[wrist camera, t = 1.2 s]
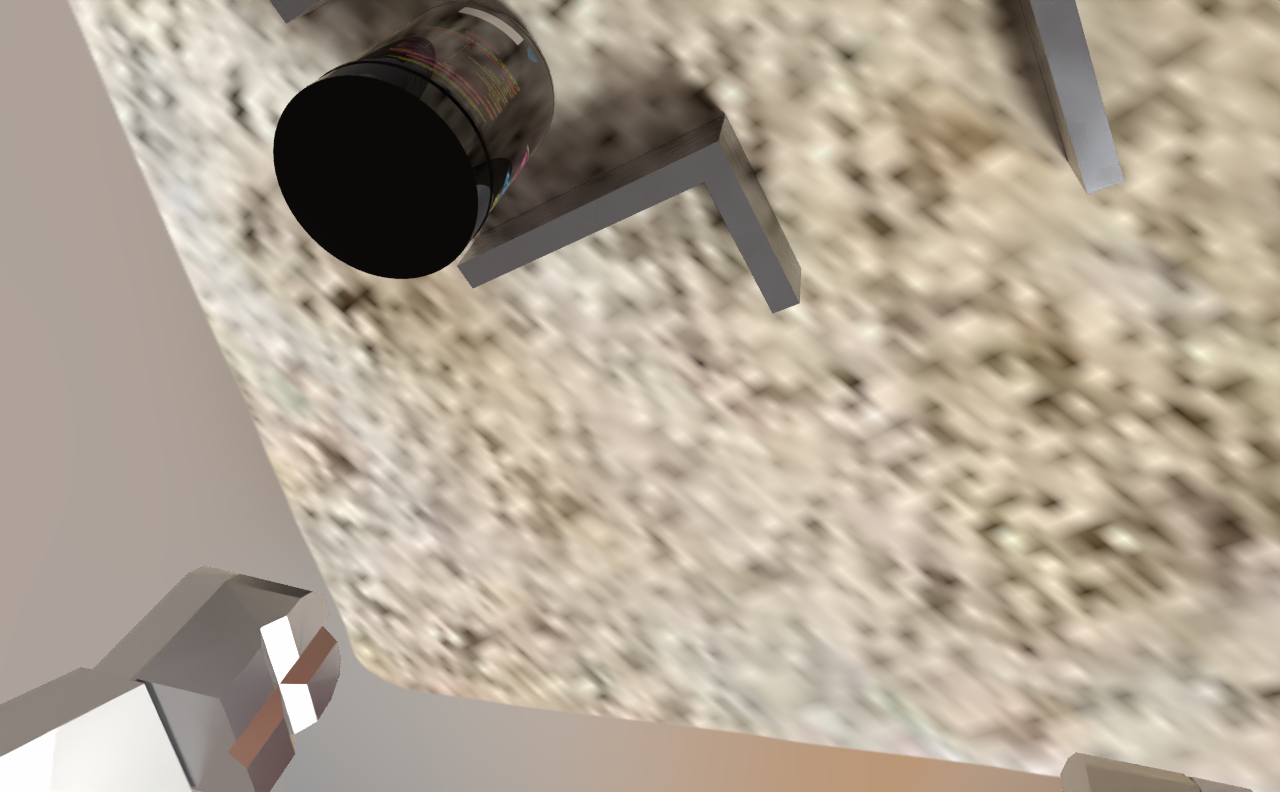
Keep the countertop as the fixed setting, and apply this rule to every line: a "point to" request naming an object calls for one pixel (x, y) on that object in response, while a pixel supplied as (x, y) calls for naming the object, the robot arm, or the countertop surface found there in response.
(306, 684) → the robot arm
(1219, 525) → the countertop surface
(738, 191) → the metal angle brackets
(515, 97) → the supplement container
